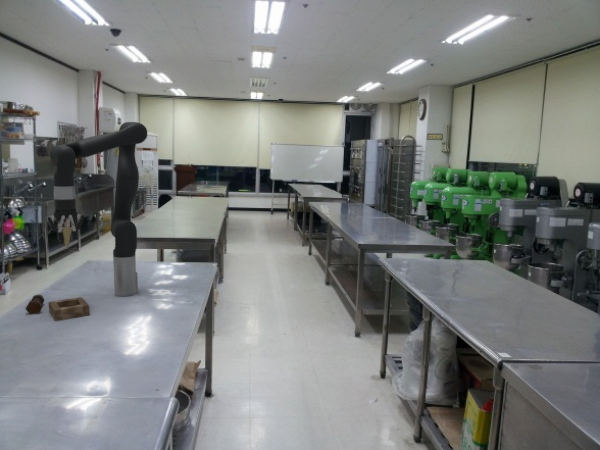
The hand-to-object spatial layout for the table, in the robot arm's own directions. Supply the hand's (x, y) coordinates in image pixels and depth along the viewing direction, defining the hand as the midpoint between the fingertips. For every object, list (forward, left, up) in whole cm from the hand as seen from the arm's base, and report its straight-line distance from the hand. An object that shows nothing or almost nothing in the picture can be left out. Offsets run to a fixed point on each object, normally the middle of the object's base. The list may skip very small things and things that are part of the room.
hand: (66, 240), depth 188 cm
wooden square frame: (+2, +9, -27) cm, 28 cm away
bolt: (+11, -5, -28) cm, 30 cm away
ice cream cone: (0, 0, -5) cm, 5 cm away
